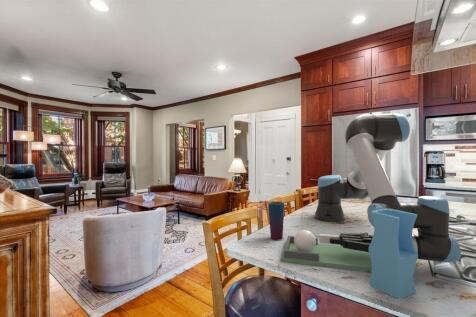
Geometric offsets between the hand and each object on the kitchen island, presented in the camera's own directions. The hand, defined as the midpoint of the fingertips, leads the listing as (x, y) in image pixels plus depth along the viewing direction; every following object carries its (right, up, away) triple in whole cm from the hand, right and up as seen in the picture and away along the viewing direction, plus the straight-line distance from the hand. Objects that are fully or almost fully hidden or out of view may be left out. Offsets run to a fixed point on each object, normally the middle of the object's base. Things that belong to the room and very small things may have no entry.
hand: (319, 238), depth 83 cm
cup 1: (-12, -6, +18) cm, 22 cm away
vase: (+13, -7, -20) cm, 24 cm away
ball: (-5, -1, +1) cm, 5 cm away
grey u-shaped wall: (-5, -5, +2) cm, 7 cm away
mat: (+5, -6, -1) cm, 8 cm away
